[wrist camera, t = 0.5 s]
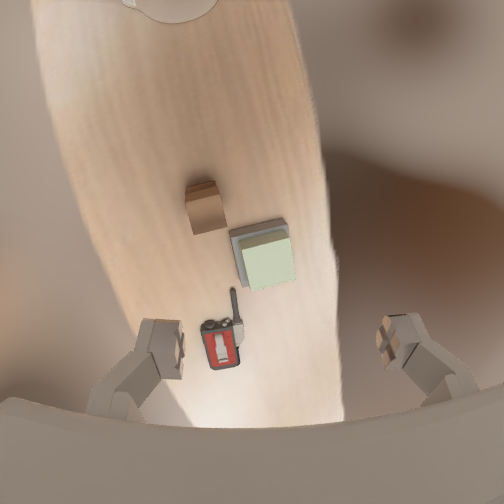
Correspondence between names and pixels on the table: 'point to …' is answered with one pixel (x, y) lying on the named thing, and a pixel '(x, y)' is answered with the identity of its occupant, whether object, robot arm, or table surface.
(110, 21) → the table surface
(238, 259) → the tower base block
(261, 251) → the tower top block
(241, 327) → the walkie-talkie
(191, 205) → the walnut pillar
